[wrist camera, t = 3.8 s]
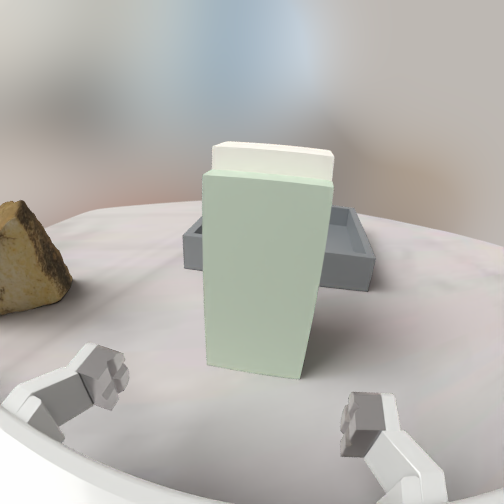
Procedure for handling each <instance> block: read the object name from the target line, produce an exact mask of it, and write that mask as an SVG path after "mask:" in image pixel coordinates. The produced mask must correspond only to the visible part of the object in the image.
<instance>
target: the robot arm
mask: <svg viewBox="0 0 504 504" xmlns="http://www.w3.org/2000/svg"><path fill="white" fill-rule="evenodd" d="M124 361H125V357H124V354H123V353H121V352H118V351H115V350H112V349H109V348H106V347H103V346H100V345H97V344H94V343H91V342H88V343H86V344H85V345H84V346H83V347H82V349H81V350H80V351H79V352H78V353H77V354H76V356H75V357H74V358H73V359H72V360H71V362H70V363H69V364H68V365H67V366H66V368H65V367H61V368H58V369H56V370H53V371H51V372H48V373H46V374H43V375H41V376H38V377H36V378H34V379H31V380H28V381H26V382H23V383H21V384H18V385H17V386H16V387H15V388H14V389H13V390H12V392H11V393H10V394H9V395H8V396H7V398H6V399H5V400H4V401H3V402H2V404H1V405H0V504H233V503H228V502H223V501H218V500H214V499H209V498H205V497H201V496H197V495H193V494H189V493H185V492H182V491H178V490H175V489H171V488H168V487H165V486H161V485H158V484H155V483H152V482H149V481H146V480H144V479H141V478H138V477H135V476H133V475H130V474H127V473H125V472H122V471H120V470H117V469H115V468H112V467H110V466H108V465H105V464H103V463H101V462H99V461H96V460H94V459H92V458H90V457H88V456H86V455H83V454H81V453H79V452H77V451H75V450H73V449H71V448H69V447H68V446H66V445H64V444H62V442H63V441H64V439H65V437H64V434H63V433H62V431H61V430H60V428H59V426H61V425H62V424H64V423H66V422H67V421H69V420H71V419H72V418H74V417H76V416H77V415H79V414H81V413H82V412H84V411H85V410H87V409H89V408H90V407H92V406H93V405H96V406H99V407H102V408H104V409H107V410H110V411H112V409H113V408H114V406H115V405H116V403H117V401H118V400H119V396H118V393H120V392H122V391H124V390H125V388H126V386H127V384H128V381H129V371H128V368H127V367H126V366H125V364H124ZM340 431H341V432H342V433H343V437H342V439H341V441H340V457H360V458H363V459H364V460H365V462H366V463H367V465H368V467H369V468H370V470H371V471H372V473H373V474H374V476H375V477H376V479H377V480H378V482H379V483H380V485H381V486H382V488H383V489H384V491H385V493H386V494H385V495H384V496H383V497H382V498H381V499H380V500H379V501H378V502H377V503H375V504H504V487H503V488H500V489H497V490H494V491H490V492H487V493H484V494H480V495H476V496H473V497H469V498H465V499H461V500H456V501H452V502H448V497H447V490H446V484H445V477H444V472H443V470H442V469H441V468H440V467H439V466H438V465H437V464H436V463H435V462H434V461H433V460H432V459H431V458H430V457H429V456H428V454H427V453H426V452H425V451H424V450H423V449H422V448H421V447H420V446H419V445H418V444H417V443H416V442H415V441H414V440H413V439H412V437H411V436H410V435H409V434H408V433H407V432H406V431H405V430H401V426H400V421H399V415H398V409H397V404H396V399H395V395H394V394H393V393H367V392H351V394H350V395H349V398H348V405H346V406H345V407H344V410H343V412H342V417H341V424H340Z"/></svg>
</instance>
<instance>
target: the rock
mask: <svg viewBox="0 0 504 504" xmlns="http://www.w3.org/2000/svg"><path fill="white" fill-rule="evenodd" d="M72 279H73V278H72V276H71V275H70V273H69V270H68V268H67V266H66V265H65V264H64V262H63V259H62V256H61V253H60V251H59V250H58V249H57V248H56V247H55V246H54V244H53V243H52V242H51V239H50V237H49V236H48V235H47V233H46V231H45V229H44V228H43V226H42V224H41V223H40V222H39V221H38V220H37V218H36V216H35V214H34V213H32V212H31V211H30V209H29V208H28V207H27V205H26V203H25V202H24V201H22V200H20V201H17V202H15V203H14V202H13V201H10V202H5V203H3V204H2V205H1V206H0V315H4V314H7V313H12V312H16V311H18V312H20V311H25V310H28V309H33V308H36V307H39V306H42V305H48V304H52V303H55V302H57V301H60V300H61V298H62V297H63V296H64V295H65V294H66V292H67V291H68V290H69V289H70V287H71V282H72Z"/></svg>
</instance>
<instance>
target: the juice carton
mask: <svg viewBox="0 0 504 504" xmlns="http://www.w3.org/2000/svg"><path fill="white" fill-rule="evenodd" d="M333 165H334V155H333V154H332V152H331V151H330V150H322V149H313V148H306V147H295V146H286V145H275V144H262V143H247V142H228V141H227V142H224V143H221V144H218V145H215V146H213V147H212V170H210V171H208V172H207V173H205V174H203V176H202V244H203V289H204V317H205V340H206V358H207V365H210V366H215V367H221V368H226V369H231V370H237V371H243V372H249V373H255V374H262V375H269V376H276V377H283V378H291V379H300V376H301V371H302V367H303V363H304V358H305V354H306V349H307V344H308V340H309V335H310V330H311V325H312V320H313V315H314V310H315V305H316V299H317V294H318V288H319V283H320V277H321V271H322V266H323V260H324V253H325V247H326V241H327V234H328V228H329V221H330V214H331V206H332V198H333V191H334V186H333V183H332V174H333Z"/></svg>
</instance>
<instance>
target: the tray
mask: <svg viewBox="0 0 504 504" xmlns="http://www.w3.org/2000/svg"><path fill="white" fill-rule="evenodd" d="M183 253H184V268H188V269H195V270H202V271H203V244H202V217H201V218H200V219H199V220H198V221H197V222H196V223H195V224H194V225H193V226H192V227H191V228H190V229H189V230H188V231H187V232H186V233H185V234H184V235H183ZM375 260H376V258H375V255H374V253H373V251H372V248H371V246H370V243H369V241H368V239H367V236H366V234H365V232H364V229H363V227H362V225H361V222H360V220H359V218H358V216H357V213H356V211H355V209H354V208H349V207H342V206H334V205H332V206H331V214H330V221H329V228H328V234H327V241H326V247H325V253H324V260H323V266H322V271H321V277H320V283H319V286H324V287H332V288H341V289H349V290H358V291H367V292H368V288H369V284H370V280H371V276H372V272H373V268H374V264H375Z"/></svg>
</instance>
